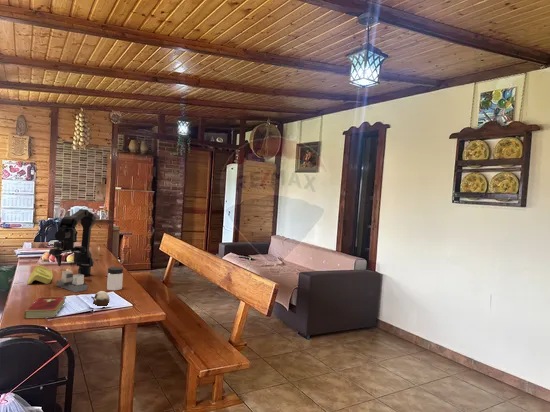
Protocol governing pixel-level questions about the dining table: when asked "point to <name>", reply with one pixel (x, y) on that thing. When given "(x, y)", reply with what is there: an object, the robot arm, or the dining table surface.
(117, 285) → the jar
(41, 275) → the plastic component
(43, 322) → the dining table surface
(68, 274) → the beige rectangular block
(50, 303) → the hardcover book
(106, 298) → the skull
